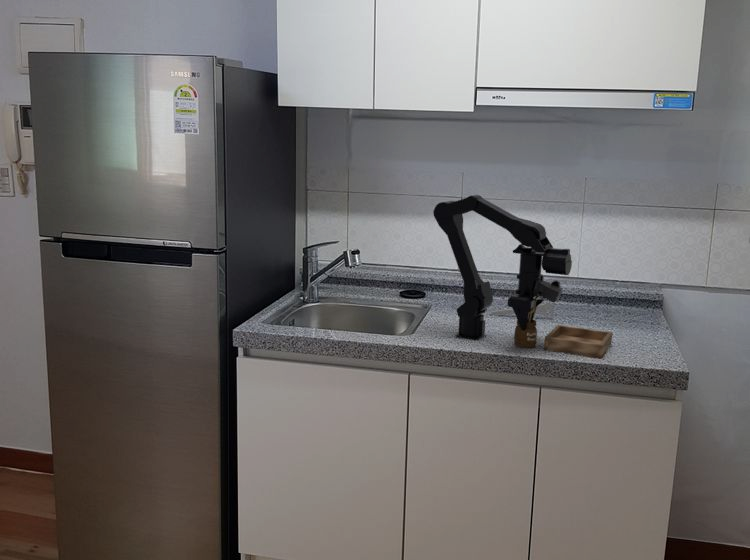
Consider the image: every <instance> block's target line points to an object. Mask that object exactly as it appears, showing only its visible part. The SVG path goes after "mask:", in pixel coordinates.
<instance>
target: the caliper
mask: <svg viewBox="0 0 750 560" xmlns="http://www.w3.org/2000/svg"><path fill="white" fill-rule="evenodd" d="M553 303H554V302H552V303H551V301H549V300H548V301H547V300H545V303H541V304H539V305H538V306H537V309H536V312H535V315H536V314H540V313H542V315H543V316H544V319H545V320H548V314H547V313H548V312H547V311H549V312H550V318H551V320H554V315H555V314H554V313H555V307H554V305H553ZM514 314H515V313H514V310H513V308H508V309H499V310H492V311H491V312H488V313H487V316H493V317H494V316H499V317H500V316H505V315H507V316H508V315H514Z"/></svg>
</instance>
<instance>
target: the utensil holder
mask: <svg viewBox="0 0 750 560" xmlns="http://www.w3.org/2000/svg"><path fill="white" fill-rule="evenodd" d="M535 305H536V301H535V304H534V306H535ZM534 311H535V308H534V309H533V310H531V311H530V313H531V314H530V319H528V322H527V327H526V330H521V327H520V325H519V322H518V320H516V326H515V329H514V336H513V337H514V338H513V342H514V345H515V346H516V347H518V348H521V349H522V348H523V349H533V348H536V346H537V338H538V329H537V327H536V326H537V320H535V319H534V318H533V319H531V316H532V313H533V312H534Z"/></svg>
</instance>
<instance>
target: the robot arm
mask: <svg viewBox="0 0 750 560" xmlns="http://www.w3.org/2000/svg"><path fill="white" fill-rule="evenodd" d="M470 212H474V213H476V214H478V215H479V216H481V217H484V218H485V219H487V220H489V221H490V222H492V223H494V224H496V225H497V226H499V227H501V228H503V229H504V230H506V231H508V232H509V233H510V234H511V236H512V237H513V238H514V239H515V240H517V241H518V242H519V243H520V244H518V246H517V247H516V248H515V249H513V250H512V253H513V254H518V255H520V256H519V268H518V269H519V270H518V272H519V273H518V274H517V275H516V280H518V282H517V283H518V284H517V289H515V293H514V294H513V295H510V297H509V298H507V305H506V306H507V307H509V308H511V309H513V310H514V313H515V317H516V319H517V320H518V322H519V325H520V327H521V330H526V327H527V322H528V319H530V314H531V313H530V311H531V310H533V309H534V308H535V311H534V312H533V313H532V316H531V319H533V320H534V318H535V315H536V314H535V312H536V309H537V306H538V305H540V304H543V302H544V301H545V299H547V300H548V302H549V301H550V303H551V302H552V303H556V302H557V301H558V300H559V297H560V296H561V294H562V292H563V288H562V287H561V281H559V280H556V279H554V280H553V281H552V282H551V281H545V280H544V279H545V278H544V277H545V275H543V273H542V270H543V271H544V272H545V273H547V274H551V275H552V274H554V275H561V276H569V274H570V273H571V270H572V264H573V261H572V255H571V249H570V248H555V247H554V246H553V244H552V242H551V241H550V240H549V238H548V237H547V231H546V228H545V227H544V226H543V225H542V224H541V223H538V222H535V221H533V220H529V219H525V218H520V217H518V216H515V215H514V214H512V213H510V212H508V211H507V210H506V209H503V208H501V207H499V206H498V205H496V204H494V203H492V202H490V201H489V200H487V199H485V198H483V197H482V196H481V195H479V194H473V195H469V196H467V197H465V198H462V199H458V200H449V201H441V202H438V203H437V204H436V205H435V207H434V209H433V214H432V215H433V217H434V219H435V221H436V223H437V225H438V226H439V228H440V229H441V230H442V231H443V232H444V233H445V235H446V236H447V239H448V241H449V245H450V248H451V251H452V253H453V256H454V259H455V261H456V264H457V267H458V271H459V273H460V275H461V278H462V281H463V298H464V302H463V303H462V304H461V305H459V307H457V308H456V312H457V313H456V314H457V316H458V333H457V334H456V335H455V336H456V337H458V338H464V339H471V340H477V341H478V340H480V339H481V338H482V337H484V336H485V334H486V320H484V319H485V315H484V314H485V313H486V311H487V309H489V308H490V306H491V305H492V304H493V301H494V297H493V296H494V295H495V293H494V292H493V290H492V288H491V283H490V281H489V280H487V281H483V279H482V278H481V276H480V274H479V271H478V269H477V266H476V263H475V261H474V257H473V254H472V252H471V249H470V246H469V244H468V240H467V238H466V235H465V232H464V216H463V215H464V214H467V213H470ZM540 297H542V298H540ZM535 301H536V305H535V306H534V304H535ZM517 320H516V321H517Z"/></svg>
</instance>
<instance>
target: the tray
mask: <svg viewBox="0 0 750 560" xmlns="http://www.w3.org/2000/svg"><path fill="white" fill-rule="evenodd" d="M612 340H613V332H611V331H605V330H598V329H591V328H590V329H588V328H584V327H583V328H582V327H576V326H575V327H574V326H568V325H562V324H561V325H560V324H557V325H556V326H555V327H554V328H553V329H552V330H551V331H550V332H549V333H547V335H545V337H544V343H543V350H544V351H548V350H549V351H550V352H555V351H556V352H555V353H561V352H564V353H563V354H568V353H570V354H569V355H574V354H577V355H576V356H581V355H583V357H587V356H589V357H588V358H594V357H595V358H596V359H600V358H602V359H603V357H604V356H605V355H606V353H607V352H608V350H609V349H610V348H611V346H612ZM608 348H609V349H608ZM606 351H607V352H606Z"/></svg>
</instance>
